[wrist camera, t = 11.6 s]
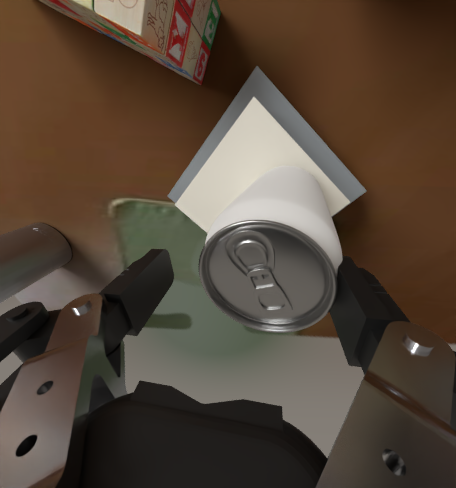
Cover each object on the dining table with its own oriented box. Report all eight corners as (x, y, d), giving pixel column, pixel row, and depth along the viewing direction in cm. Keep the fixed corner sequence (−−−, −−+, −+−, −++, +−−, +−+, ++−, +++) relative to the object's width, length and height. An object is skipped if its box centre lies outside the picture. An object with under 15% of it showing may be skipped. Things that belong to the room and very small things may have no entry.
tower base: (258, 258, 31) (255, 292, 24) (180, 189, 28) (150, 205, 21) (352, 183, 23) (386, 201, 17) (259, 78, 21) (253, 46, 14)
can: (310, 150, 15) (323, 176, 5) (331, 222, 17) (369, 338, 7) (239, 183, 18) (164, 238, 8) (264, 241, 20) (227, 341, 10)
